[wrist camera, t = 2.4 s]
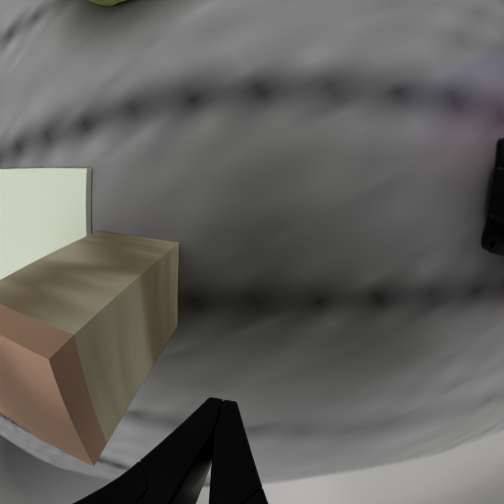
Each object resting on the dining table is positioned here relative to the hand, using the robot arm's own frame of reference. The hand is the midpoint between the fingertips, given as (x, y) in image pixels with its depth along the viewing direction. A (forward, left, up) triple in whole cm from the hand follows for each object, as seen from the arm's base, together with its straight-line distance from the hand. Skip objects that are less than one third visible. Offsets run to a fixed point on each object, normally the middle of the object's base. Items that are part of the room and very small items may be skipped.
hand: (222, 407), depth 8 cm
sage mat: (+15, 0, -8) cm, 17 cm away
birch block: (+6, 0, -8) cm, 10 cm away
